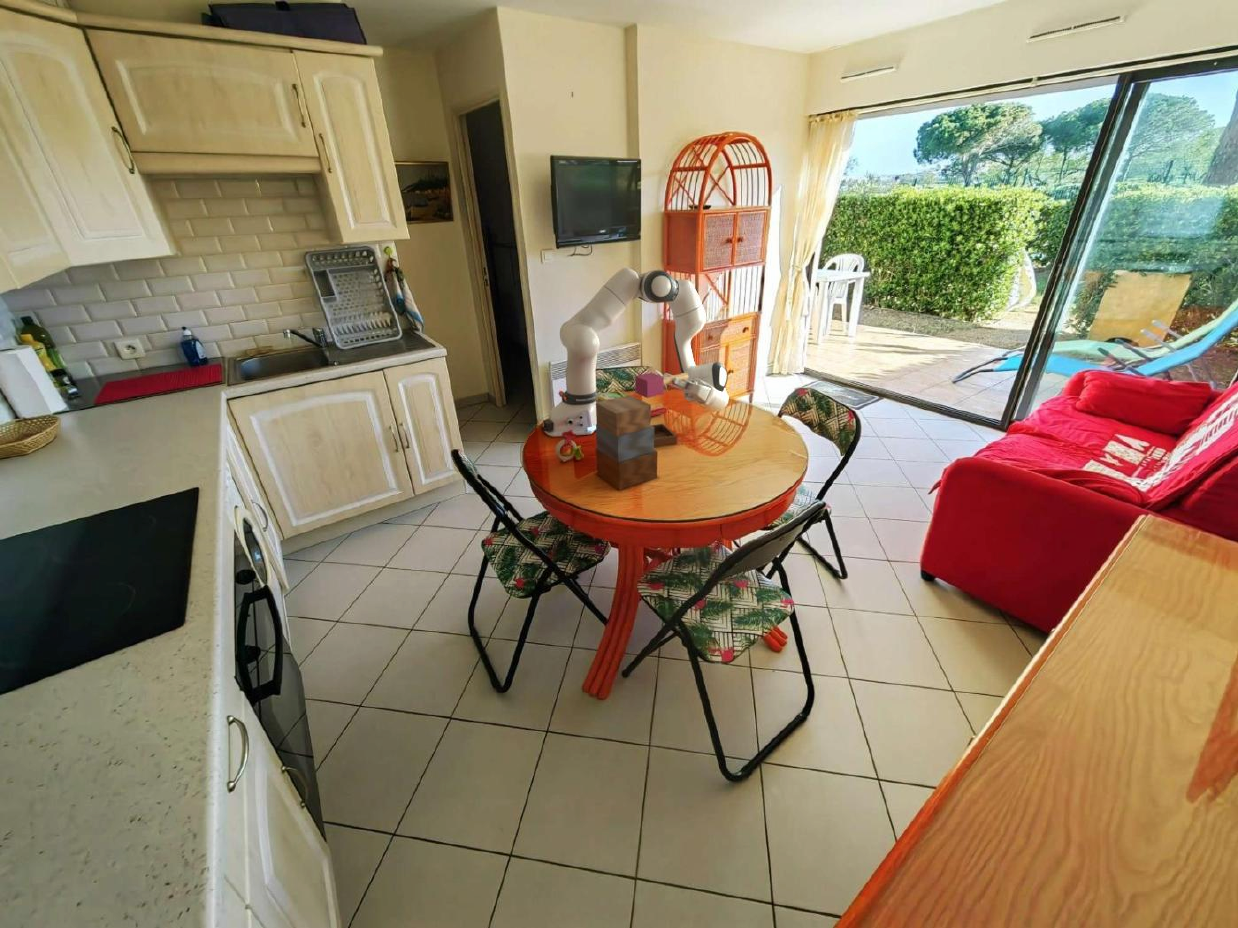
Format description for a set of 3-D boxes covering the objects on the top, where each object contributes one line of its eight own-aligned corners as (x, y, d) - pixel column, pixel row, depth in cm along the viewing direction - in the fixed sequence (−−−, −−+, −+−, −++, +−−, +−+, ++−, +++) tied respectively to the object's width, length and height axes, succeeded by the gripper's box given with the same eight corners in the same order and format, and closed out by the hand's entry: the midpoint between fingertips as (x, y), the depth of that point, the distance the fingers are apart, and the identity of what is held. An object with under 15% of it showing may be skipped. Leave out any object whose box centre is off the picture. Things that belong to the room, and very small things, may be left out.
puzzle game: (611, 407, 202) (593, 392, 218) (612, 418, 204) (594, 403, 220) (638, 402, 206) (619, 388, 222) (638, 413, 208) (619, 399, 225)
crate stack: (633, 462, 168) (632, 392, 157) (657, 477, 158) (658, 404, 147) (596, 473, 161) (593, 401, 150) (619, 490, 151) (618, 414, 141)
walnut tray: (632, 450, 176) (632, 442, 175) (621, 437, 187) (621, 429, 185) (676, 443, 181) (677, 436, 179) (662, 430, 191) (663, 423, 190)
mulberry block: (679, 381, 187) (680, 365, 184) (692, 386, 181) (693, 370, 179) (635, 392, 177) (635, 376, 174) (647, 398, 172) (647, 380, 169)
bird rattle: (568, 471, 168) (590, 455, 170) (554, 446, 161) (576, 429, 163) (560, 464, 172) (581, 448, 175) (546, 439, 166) (568, 423, 168)
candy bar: (663, 411, 210) (663, 404, 209) (669, 413, 208) (669, 406, 206) (631, 419, 203) (631, 412, 201) (636, 422, 200) (636, 414, 199)
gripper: (680, 376, 195) (656, 364, 186) (718, 389, 180) (693, 377, 171) (674, 391, 196) (649, 380, 187) (710, 406, 181) (685, 394, 172)
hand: (670, 378), depth 179 cm, fingers closed on mulberry block, 2 cm apart
